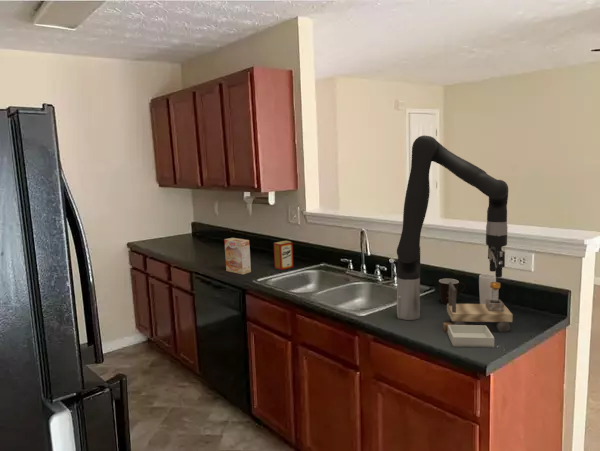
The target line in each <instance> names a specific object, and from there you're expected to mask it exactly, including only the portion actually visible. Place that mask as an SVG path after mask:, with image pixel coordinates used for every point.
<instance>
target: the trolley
mask: <svg viewBox="0 0 600 451" xmlns="http://www.w3.org/2000/svg"><path fill="white" fill-rule="evenodd" d="M456 291H457V290H456V288H455V287H454V285H453V284H452V282H449V304H446V312H447V314H448V318H449V321H451V322H452V323H453V324H454V325H467V324H466V322H479V323H483V322H485V323H486V322H487V323H489V322H490V323H496V328H497V330H498V331H499V332H500V333H503V334H504V333H507V332H509V330H510V329H511V326H510V323H513V319H514V318H513V317H514V316H513V315H514V314H513V313H512V312H511V311H510V309H509V308H508V307H507V306H506V305H505V303H504V302H503V301H502V300H501V299H499V298H498V303H491V301H492V299H486V304H480V303H457V298H456ZM457 292H458V291H457Z"/></svg>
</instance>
